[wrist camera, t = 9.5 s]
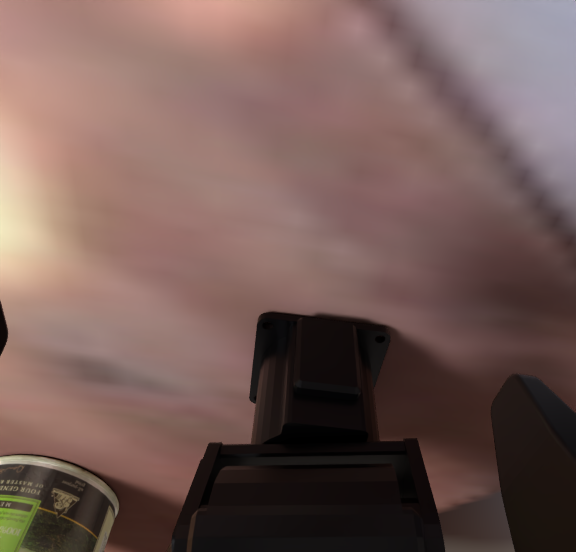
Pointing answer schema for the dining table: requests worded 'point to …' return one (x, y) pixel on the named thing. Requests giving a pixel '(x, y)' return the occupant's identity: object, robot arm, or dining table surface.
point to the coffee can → (53, 506)
